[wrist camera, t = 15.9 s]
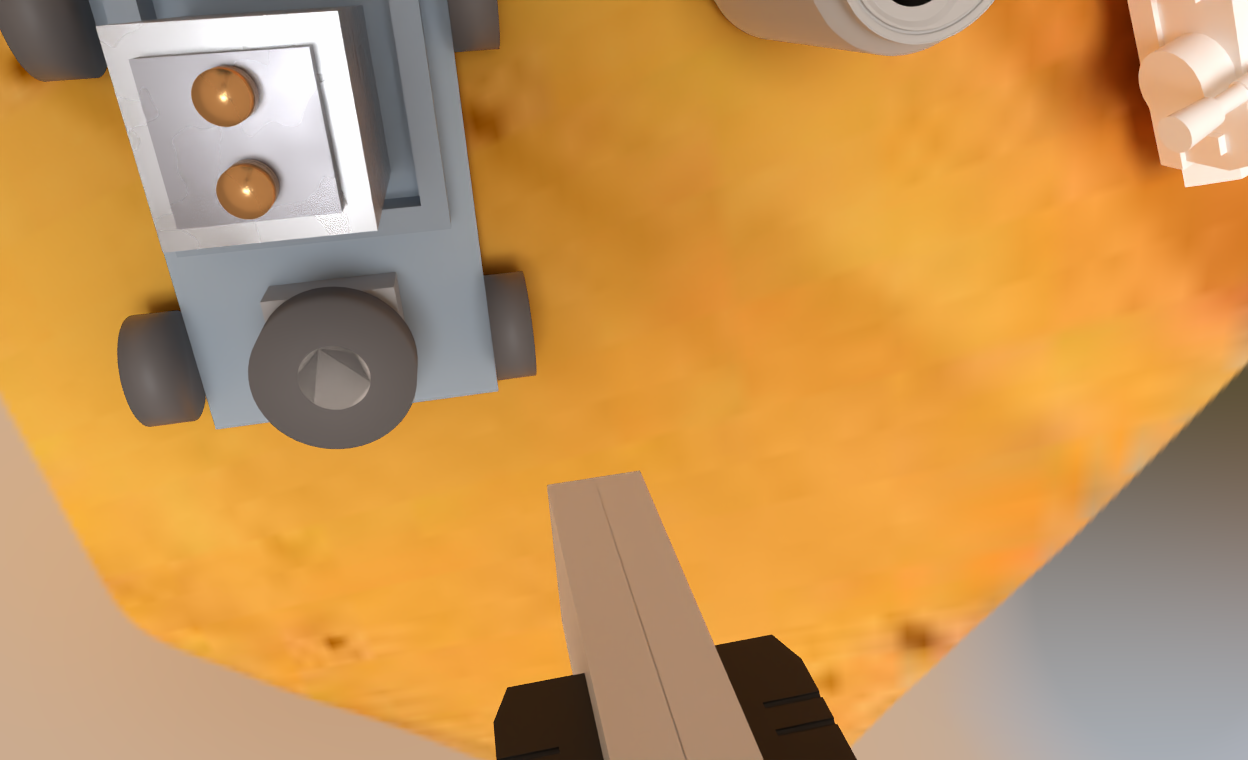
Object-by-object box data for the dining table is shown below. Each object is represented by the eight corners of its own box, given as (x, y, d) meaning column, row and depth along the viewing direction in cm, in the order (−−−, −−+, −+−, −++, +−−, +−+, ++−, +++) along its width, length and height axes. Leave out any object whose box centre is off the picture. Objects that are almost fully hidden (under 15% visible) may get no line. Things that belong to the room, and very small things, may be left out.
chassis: (15, -106, 28) (-53, -122, 24) (475, -124, 31) (482, -141, 27) (182, 424, 37) (152, 476, 33) (531, 377, 39) (542, 420, 35)
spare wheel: (250, 280, 33) (229, 313, 30) (406, 262, 34) (402, 292, 31) (284, 415, 36) (269, 459, 32) (428, 395, 37) (428, 436, 33)
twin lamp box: (186, 15, 30) (68, 29, 20) (362, 5, 31) (330, 12, 21) (229, 187, 32) (143, 271, 23) (390, 172, 33) (373, 247, 24)
